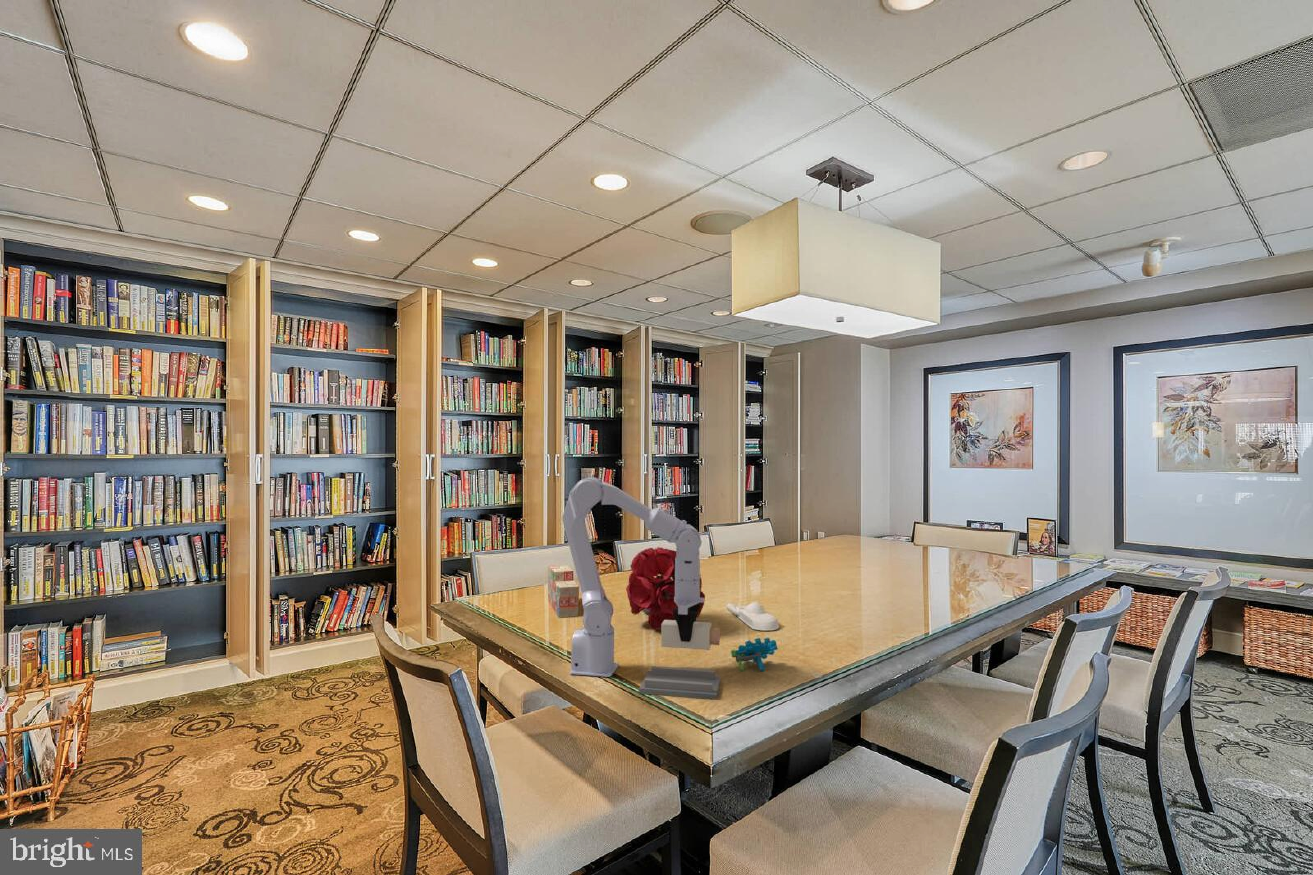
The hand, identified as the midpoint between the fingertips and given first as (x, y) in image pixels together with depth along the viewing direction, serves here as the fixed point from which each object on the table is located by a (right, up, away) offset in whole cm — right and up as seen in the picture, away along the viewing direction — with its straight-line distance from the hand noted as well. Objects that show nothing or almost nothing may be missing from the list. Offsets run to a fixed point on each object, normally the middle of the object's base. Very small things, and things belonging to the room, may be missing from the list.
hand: (687, 638), depth 136 cm
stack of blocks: (-37, -9, +54) cm, 66 cm away
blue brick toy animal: (+16, -8, +3) cm, 18 cm away
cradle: (-2, -7, -10) cm, 12 cm away
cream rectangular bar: (0, -2, 0) cm, 2 cm away
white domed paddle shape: (+22, -9, +39) cm, 46 cm away
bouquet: (-5, -9, +37) cm, 38 cm away
